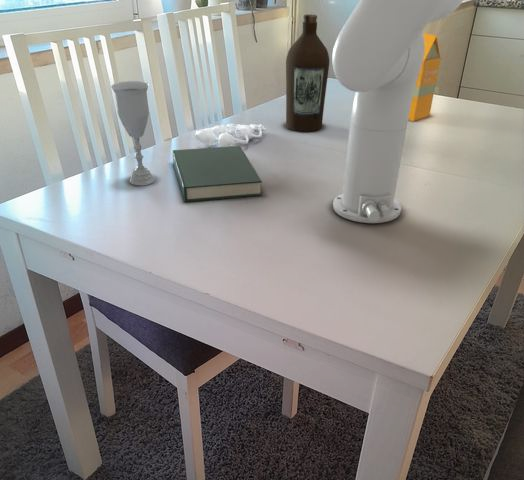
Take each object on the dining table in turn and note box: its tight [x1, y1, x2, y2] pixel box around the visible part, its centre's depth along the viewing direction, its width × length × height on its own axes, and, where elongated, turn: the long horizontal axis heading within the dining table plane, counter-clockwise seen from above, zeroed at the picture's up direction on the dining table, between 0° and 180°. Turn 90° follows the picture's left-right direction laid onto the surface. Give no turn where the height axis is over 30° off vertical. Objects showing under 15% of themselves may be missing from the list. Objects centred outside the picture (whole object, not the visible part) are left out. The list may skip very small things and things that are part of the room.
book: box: [171, 145, 262, 203], centre depth 112 cm, size 21×15×3 cm
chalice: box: [110, 80, 155, 186], centre depth 106 cm, size 7×7×18 cm
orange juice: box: [408, 32, 442, 122], centre depth 145 cm, size 8×9×20 cm
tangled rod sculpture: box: [194, 123, 267, 147], centre depth 131 cm, size 19×14×4 cm
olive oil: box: [285, 13, 330, 133], centre depth 134 cm, size 11×11×25 cm
